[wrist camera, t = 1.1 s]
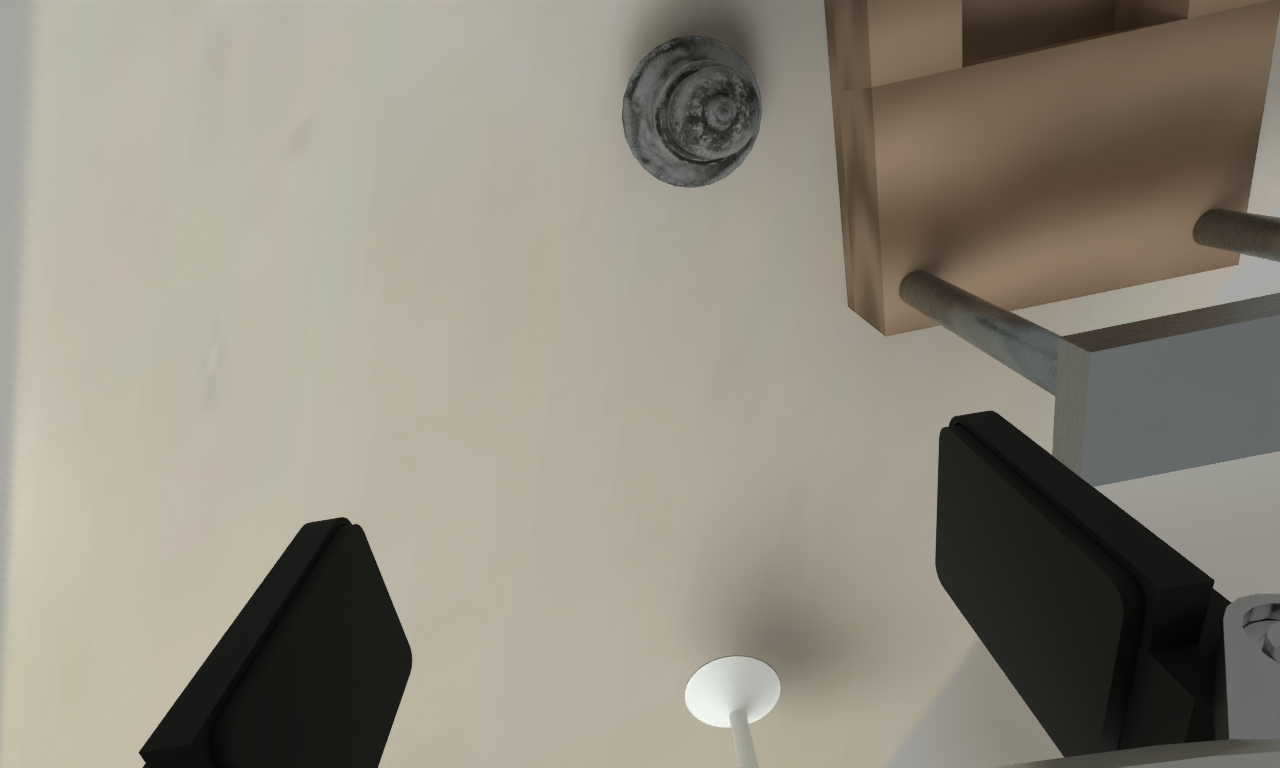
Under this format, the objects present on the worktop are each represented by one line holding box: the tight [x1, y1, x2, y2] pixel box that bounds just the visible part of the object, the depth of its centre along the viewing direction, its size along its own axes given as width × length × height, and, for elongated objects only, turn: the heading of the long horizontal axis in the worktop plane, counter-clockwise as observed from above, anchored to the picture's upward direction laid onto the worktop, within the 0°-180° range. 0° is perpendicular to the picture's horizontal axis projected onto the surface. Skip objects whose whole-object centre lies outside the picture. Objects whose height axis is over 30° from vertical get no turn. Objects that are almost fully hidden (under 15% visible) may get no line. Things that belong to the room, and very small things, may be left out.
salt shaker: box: [622, 36, 762, 188], centre depth 25 cm, size 6×6×12 cm
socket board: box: [824, 0, 1280, 336], centre depth 27 cm, size 24×16×5 cm, turn 11°
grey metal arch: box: [899, 209, 1280, 487], centre depth 22 cm, size 4×16×13 cm, turn 101°
